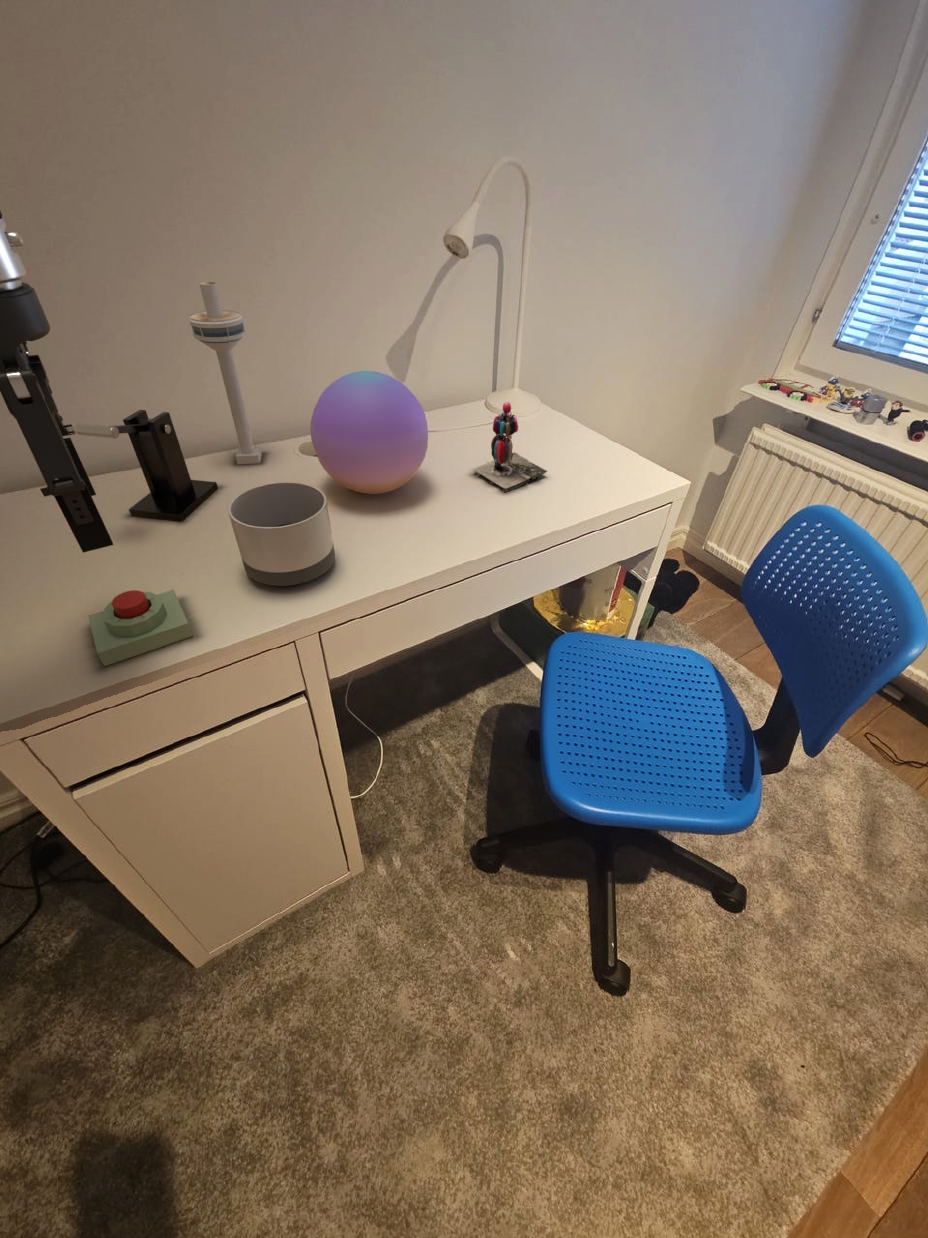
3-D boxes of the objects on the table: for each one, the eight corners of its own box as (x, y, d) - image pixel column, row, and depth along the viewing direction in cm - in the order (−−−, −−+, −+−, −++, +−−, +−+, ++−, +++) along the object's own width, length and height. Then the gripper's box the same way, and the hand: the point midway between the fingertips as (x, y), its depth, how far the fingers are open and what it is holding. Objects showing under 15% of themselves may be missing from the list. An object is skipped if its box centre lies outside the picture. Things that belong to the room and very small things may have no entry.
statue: (505, 498, 100) (505, 421, 90) (473, 478, 106) (469, 403, 95) (547, 476, 105) (552, 400, 94) (514, 458, 110) (515, 384, 99)
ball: (451, 488, 100) (453, 375, 87) (368, 527, 89) (356, 404, 76) (380, 455, 110) (372, 349, 97) (297, 487, 98) (275, 371, 85)
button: (119, 623, 64) (114, 612, 63) (114, 607, 66) (109, 596, 65) (152, 613, 65) (147, 602, 64) (146, 597, 68) (141, 586, 67)
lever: (112, 442, 74) (109, 423, 73) (76, 438, 75) (72, 420, 74) (173, 436, 86) (171, 420, 85) (141, 433, 87) (139, 417, 86)
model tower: (230, 451, 109) (184, 278, 89) (273, 449, 110) (237, 278, 91) (224, 469, 103) (174, 288, 83) (270, 467, 104) (231, 288, 85)
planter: (244, 550, 83) (227, 487, 76) (329, 537, 86) (319, 476, 79) (248, 600, 73) (228, 534, 67) (342, 584, 77) (333, 520, 70)
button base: (104, 666, 63) (90, 641, 61) (95, 628, 68) (81, 603, 66) (193, 636, 68) (183, 611, 65) (178, 602, 73) (169, 578, 70)
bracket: (181, 521, 88) (150, 433, 79) (131, 515, 89) (93, 427, 80) (218, 488, 97) (193, 405, 88) (171, 483, 98) (142, 400, 89)
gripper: (42, 309, 38) (150, 564, 52) (22, 260, 52) (110, 469, 67) (-95, 319, 34) (60, 589, 49) (-76, 264, 49) (39, 483, 63)
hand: (89, 520), depth 58 cm, fingers open, 11 cm apart
